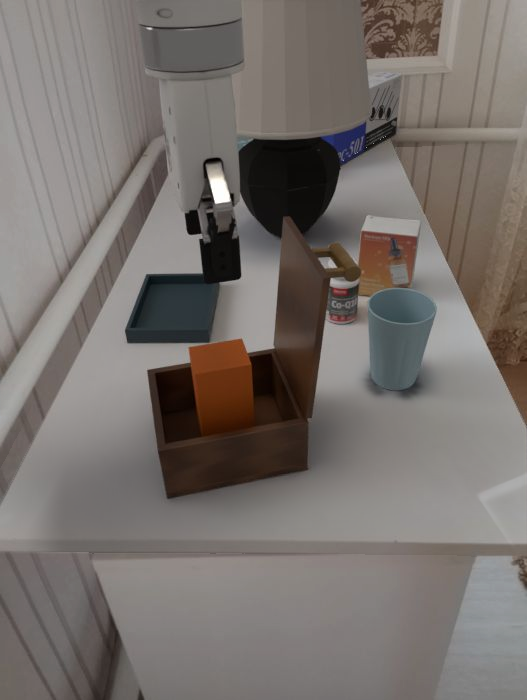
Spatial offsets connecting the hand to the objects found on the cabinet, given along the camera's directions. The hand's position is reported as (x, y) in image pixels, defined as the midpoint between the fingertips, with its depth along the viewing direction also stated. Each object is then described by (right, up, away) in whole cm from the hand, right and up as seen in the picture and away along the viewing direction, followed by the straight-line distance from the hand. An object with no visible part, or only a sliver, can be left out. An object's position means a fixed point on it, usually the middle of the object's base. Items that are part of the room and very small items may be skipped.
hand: (212, 254), depth 55 cm
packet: (+1, -18, +10) cm, 21 cm away
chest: (+1, -19, +11) cm, 22 cm away
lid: (+8, -5, +3) cm, 10 cm away
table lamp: (+9, +12, +52) cm, 54 cm away
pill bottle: (+16, -4, +30) cm, 34 cm away
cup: (+21, -12, +19) cm, 31 cm away
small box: (+23, 0, +36) cm, 42 cm away
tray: (-8, -3, +32) cm, 33 cm away
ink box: (+26, +39, +87) cm, 99 cm away
